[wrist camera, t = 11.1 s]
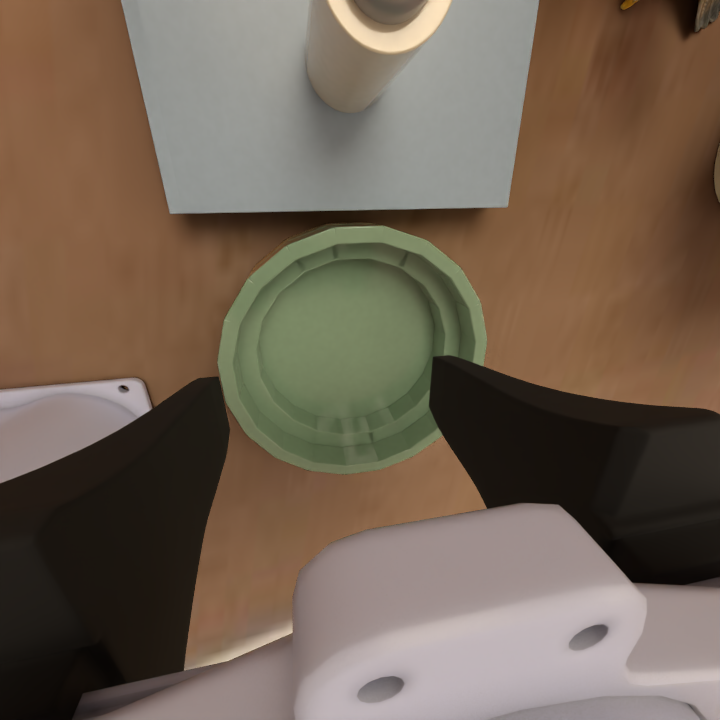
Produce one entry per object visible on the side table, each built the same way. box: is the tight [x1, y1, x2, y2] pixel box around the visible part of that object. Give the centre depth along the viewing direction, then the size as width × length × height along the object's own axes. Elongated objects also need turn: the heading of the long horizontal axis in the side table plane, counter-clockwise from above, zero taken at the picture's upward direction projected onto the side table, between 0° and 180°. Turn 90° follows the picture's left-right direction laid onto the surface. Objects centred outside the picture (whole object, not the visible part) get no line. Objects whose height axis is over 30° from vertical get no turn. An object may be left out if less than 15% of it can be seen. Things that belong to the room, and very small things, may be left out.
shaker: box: [304, 0, 452, 113], centre depth 10 cm, size 4×4×8 cm
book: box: [121, 0, 539, 214], centre depth 15 cm, size 16×11×2 cm
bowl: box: [217, 222, 487, 475], centre depth 19 cm, size 14×14×4 cm
